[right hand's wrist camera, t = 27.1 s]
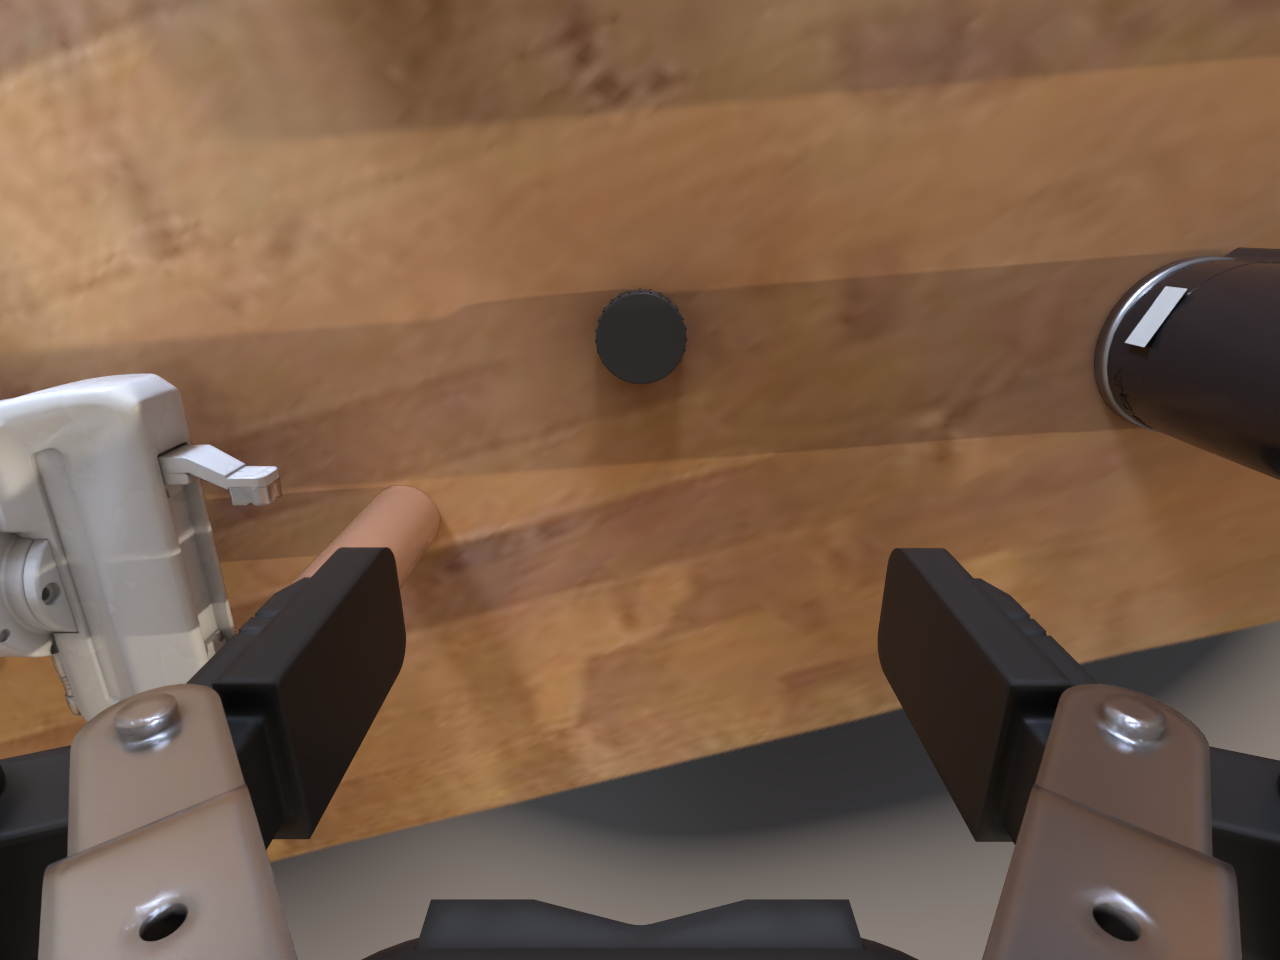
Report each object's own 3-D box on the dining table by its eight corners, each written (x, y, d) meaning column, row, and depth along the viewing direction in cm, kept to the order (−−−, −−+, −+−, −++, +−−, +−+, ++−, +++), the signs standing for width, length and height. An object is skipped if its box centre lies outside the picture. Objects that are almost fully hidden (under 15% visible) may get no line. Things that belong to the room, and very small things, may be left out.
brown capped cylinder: (440, 489, 41) (306, 666, 25) (440, 552, 43) (312, 760, 26) (369, 481, 41) (185, 655, 24) (370, 545, 42) (199, 750, 26)
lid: (591, 369, 39) (588, 378, 37) (603, 281, 37) (601, 284, 35) (676, 383, 39) (678, 391, 37) (692, 295, 37) (695, 299, 35)
